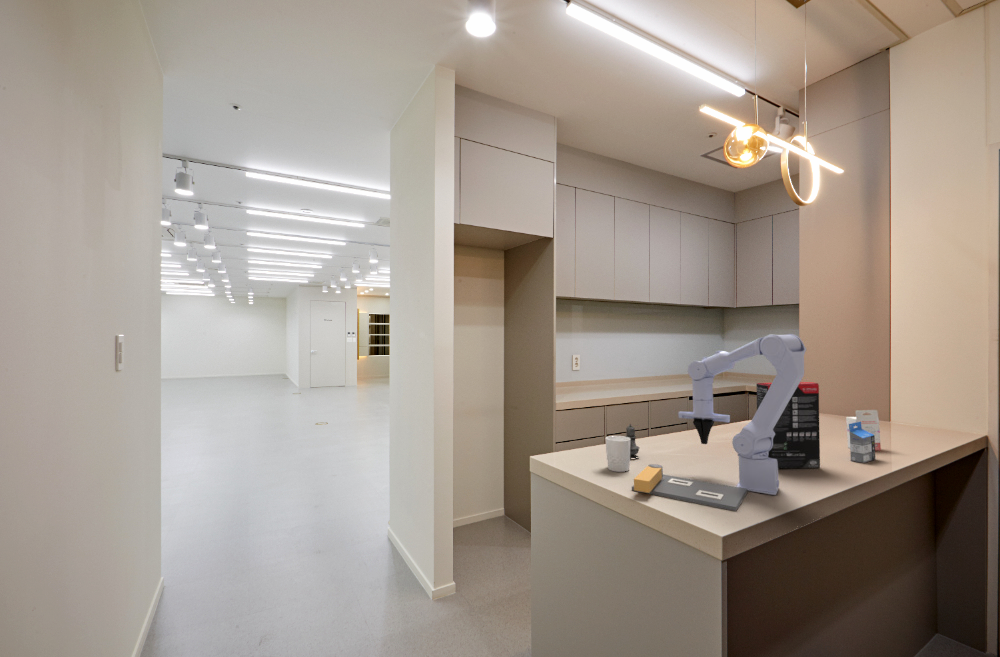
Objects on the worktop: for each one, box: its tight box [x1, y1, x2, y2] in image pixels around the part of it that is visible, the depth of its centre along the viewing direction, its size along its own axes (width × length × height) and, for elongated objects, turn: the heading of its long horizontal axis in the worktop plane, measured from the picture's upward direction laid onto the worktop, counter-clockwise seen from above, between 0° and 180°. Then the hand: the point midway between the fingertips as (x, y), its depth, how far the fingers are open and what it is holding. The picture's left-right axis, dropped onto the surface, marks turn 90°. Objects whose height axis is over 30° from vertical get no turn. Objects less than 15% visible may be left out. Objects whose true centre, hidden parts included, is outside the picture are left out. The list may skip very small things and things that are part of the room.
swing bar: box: [633, 463, 664, 494], centre depth 123 cm, size 17×4×3 cm, turn 147°
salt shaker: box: [625, 423, 640, 458], centre depth 155 cm, size 6×6×12 cm
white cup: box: [604, 435, 631, 473], centre depth 141 cm, size 8×8×10 cm
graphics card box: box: [756, 381, 821, 469], centre depth 140 cm, size 17×7×27 cm, turn 92°
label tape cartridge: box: [849, 421, 877, 464], centre depth 146 cm, size 9×4×12 cm, turn 119°
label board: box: [631, 473, 748, 512], centre depth 119 cm, size 26×16×1 cm, turn 52°
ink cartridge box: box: [845, 409, 882, 452], centre depth 160 cm, size 9×5×15 cm, turn 91°
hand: (704, 443), depth 135 cm, fingers closed
